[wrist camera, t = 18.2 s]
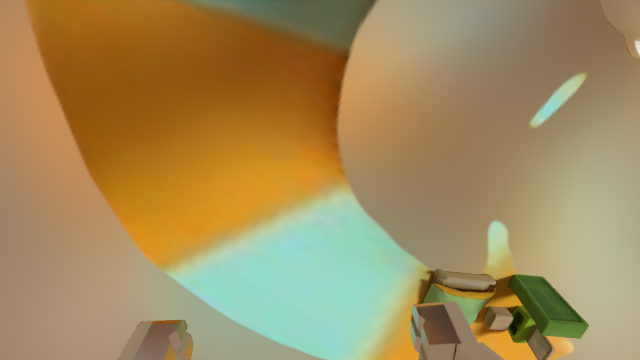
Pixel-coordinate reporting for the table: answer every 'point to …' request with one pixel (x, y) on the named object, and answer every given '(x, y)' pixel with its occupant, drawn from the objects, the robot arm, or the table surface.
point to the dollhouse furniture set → (526, 321)
